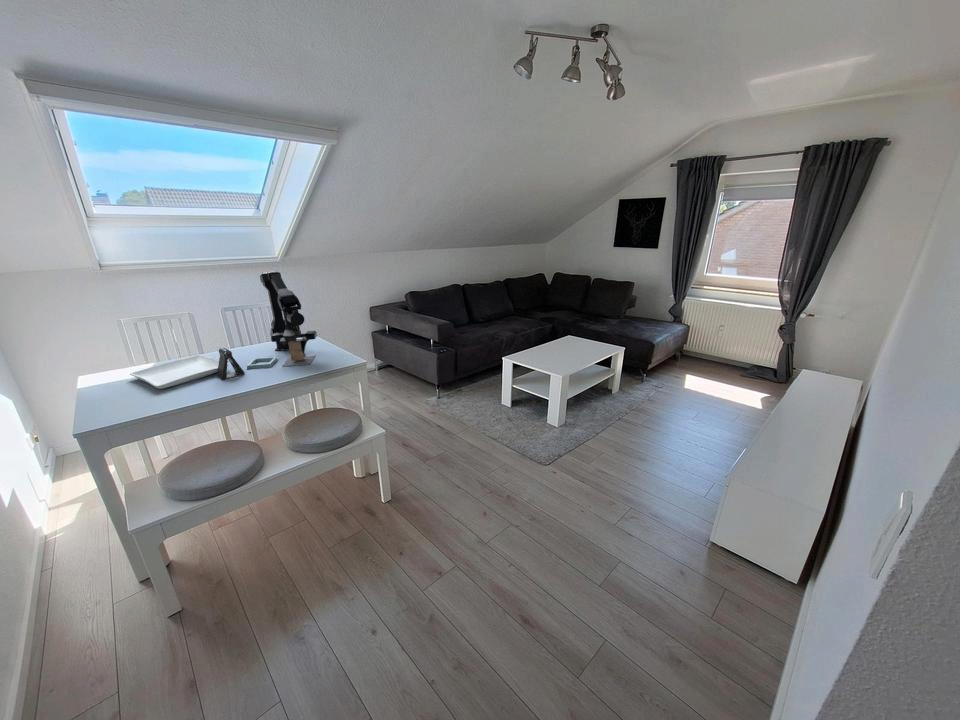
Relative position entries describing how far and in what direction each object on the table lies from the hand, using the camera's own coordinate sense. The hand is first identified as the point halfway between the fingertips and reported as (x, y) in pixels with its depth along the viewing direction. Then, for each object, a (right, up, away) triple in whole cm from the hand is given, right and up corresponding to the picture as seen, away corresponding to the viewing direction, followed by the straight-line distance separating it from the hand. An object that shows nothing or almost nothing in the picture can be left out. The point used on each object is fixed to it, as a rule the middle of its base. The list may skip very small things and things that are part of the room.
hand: (297, 353), depth 175 cm
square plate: (-43, -10, -14) cm, 47 cm away
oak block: (0, -2, +1) cm, 3 cm away
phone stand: (-22, -10, -14) cm, 28 cm away
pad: (0, -4, +1) cm, 4 cm away
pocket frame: (-16, -5, -2) cm, 16 cm away
